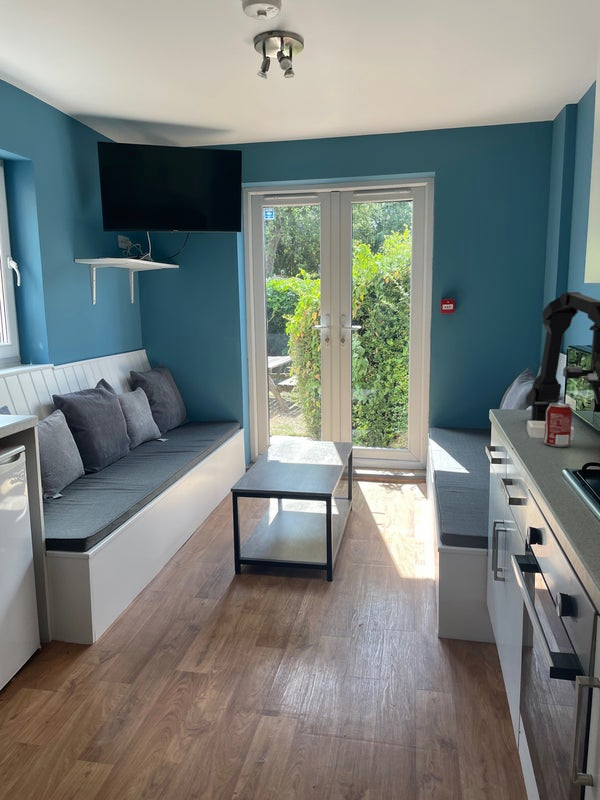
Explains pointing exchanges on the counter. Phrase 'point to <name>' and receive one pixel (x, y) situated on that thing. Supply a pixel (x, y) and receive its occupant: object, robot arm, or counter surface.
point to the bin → (540, 429)
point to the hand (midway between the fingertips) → (598, 404)
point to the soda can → (558, 425)
